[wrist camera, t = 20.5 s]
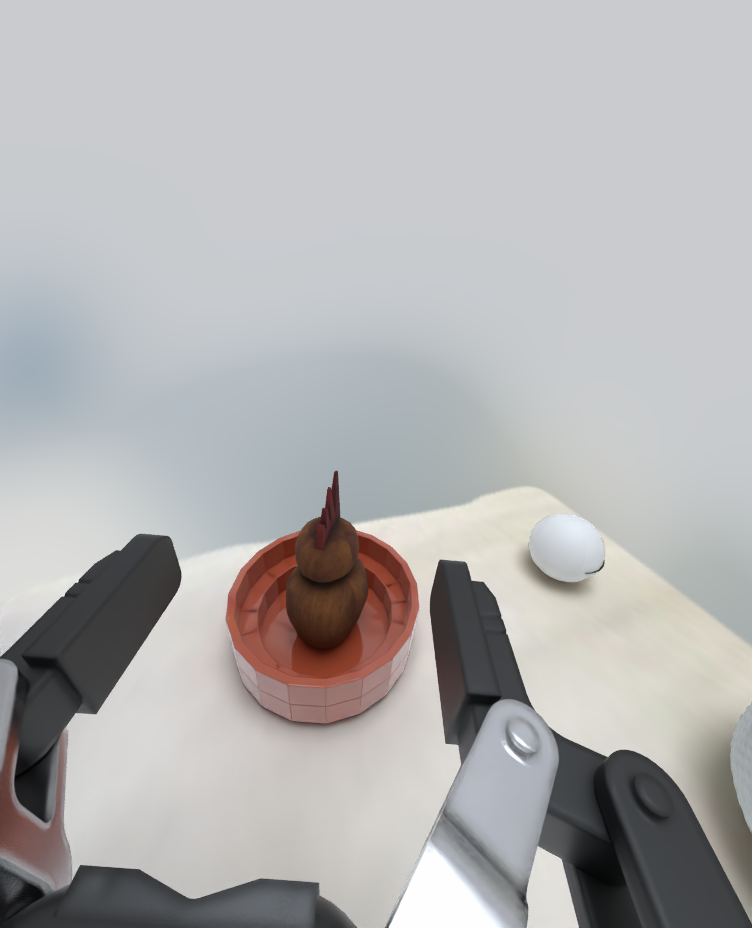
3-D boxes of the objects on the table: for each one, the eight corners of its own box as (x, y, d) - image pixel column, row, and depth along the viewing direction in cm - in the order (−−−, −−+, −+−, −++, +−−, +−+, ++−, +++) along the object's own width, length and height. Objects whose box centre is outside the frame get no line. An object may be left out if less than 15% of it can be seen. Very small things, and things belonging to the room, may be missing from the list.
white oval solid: (562, 608, 34) (590, 555, 31) (507, 558, 40) (525, 509, 36) (617, 576, 39) (648, 527, 35) (561, 535, 44) (581, 489, 40)
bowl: (202, 720, 24) (185, 677, 21) (269, 560, 37) (264, 521, 34) (415, 736, 24) (427, 695, 21) (406, 571, 37) (412, 533, 34)
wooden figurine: (327, 585, 34) (327, 453, 26) (375, 615, 31) (390, 478, 24) (275, 636, 29) (257, 491, 21) (327, 677, 26) (327, 529, 19)
